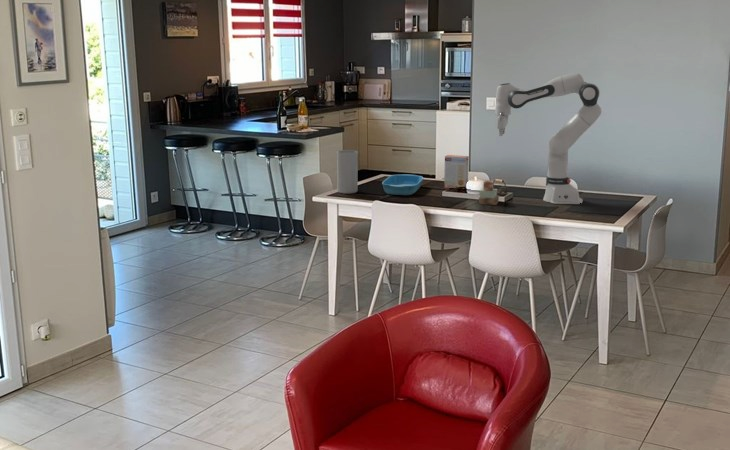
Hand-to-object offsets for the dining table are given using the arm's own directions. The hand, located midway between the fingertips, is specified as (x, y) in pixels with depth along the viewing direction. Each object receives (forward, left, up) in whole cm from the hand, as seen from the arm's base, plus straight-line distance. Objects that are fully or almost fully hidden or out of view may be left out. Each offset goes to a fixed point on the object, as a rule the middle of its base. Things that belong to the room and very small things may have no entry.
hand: (501, 134), depth 471 cm
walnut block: (+4, +18, -38) cm, 42 cm away
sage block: (+4, +18, -34) cm, 38 cm away
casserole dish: (+60, -2, -38) cm, 71 cm away
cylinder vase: (+92, +12, -37) cm, 100 cm away
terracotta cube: (+4, +18, -30) cm, 35 cm away
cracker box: (+29, -16, -37) cm, 50 cm away
